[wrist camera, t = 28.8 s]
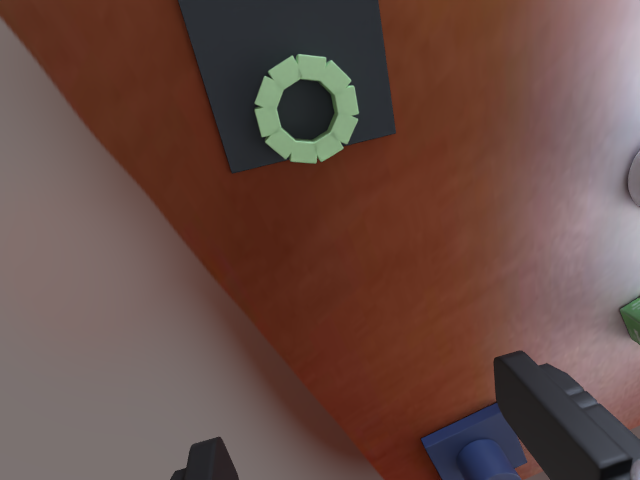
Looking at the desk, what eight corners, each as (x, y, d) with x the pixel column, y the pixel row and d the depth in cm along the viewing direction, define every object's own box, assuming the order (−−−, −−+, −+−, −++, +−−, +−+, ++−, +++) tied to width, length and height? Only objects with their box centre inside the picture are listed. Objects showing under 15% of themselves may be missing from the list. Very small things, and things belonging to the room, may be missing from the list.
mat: (232, 173, 28) (232, 173, 27) (170, -25, 23) (170, -25, 23) (395, 132, 28) (395, 133, 28) (367, -68, 23) (368, -69, 23)
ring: (271, 170, 28) (271, 174, 26) (243, 68, 25) (242, 67, 24) (360, 148, 28) (365, 151, 27) (342, 44, 25) (347, 42, 24)
